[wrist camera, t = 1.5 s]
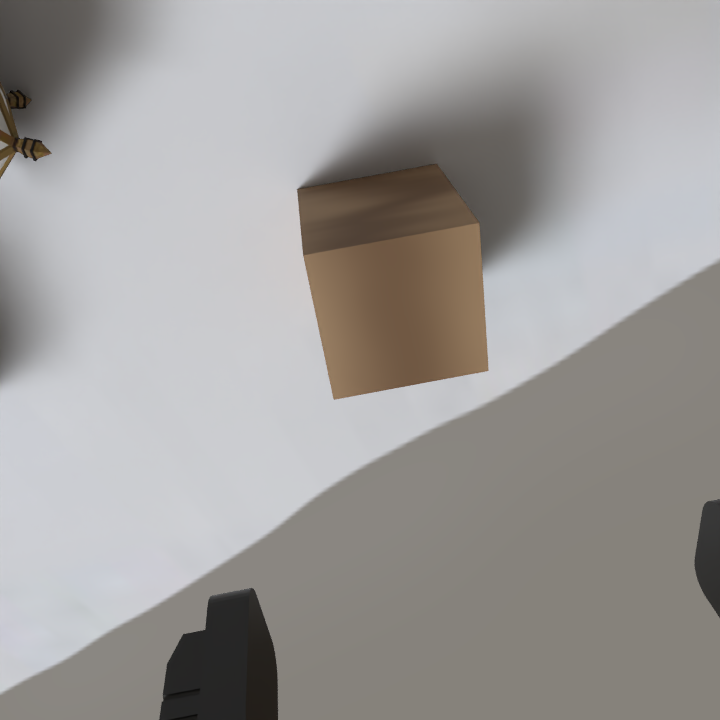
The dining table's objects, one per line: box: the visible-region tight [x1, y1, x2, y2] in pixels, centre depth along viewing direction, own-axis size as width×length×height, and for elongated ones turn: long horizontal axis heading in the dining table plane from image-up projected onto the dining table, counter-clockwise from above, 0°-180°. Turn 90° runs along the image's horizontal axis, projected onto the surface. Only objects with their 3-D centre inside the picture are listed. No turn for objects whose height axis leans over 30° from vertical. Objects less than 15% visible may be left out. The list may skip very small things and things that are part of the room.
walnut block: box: [297, 164, 488, 400], centre depth 23 cm, size 5×5×6 cm
